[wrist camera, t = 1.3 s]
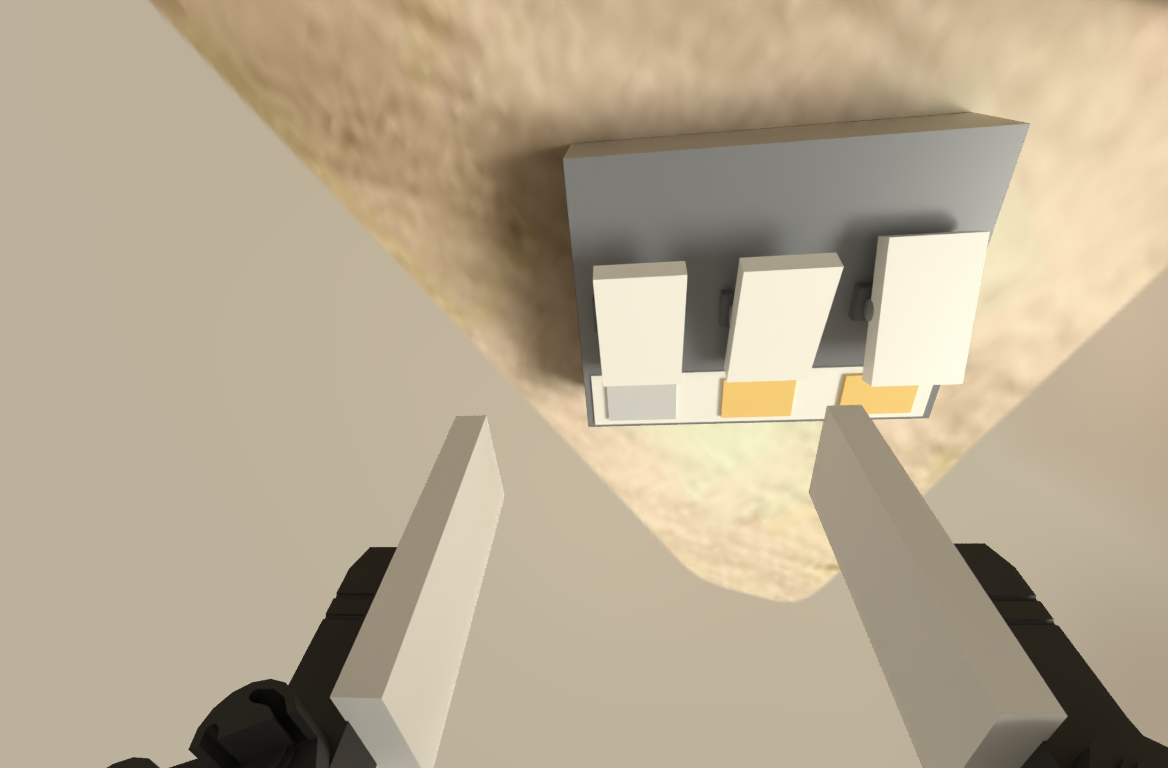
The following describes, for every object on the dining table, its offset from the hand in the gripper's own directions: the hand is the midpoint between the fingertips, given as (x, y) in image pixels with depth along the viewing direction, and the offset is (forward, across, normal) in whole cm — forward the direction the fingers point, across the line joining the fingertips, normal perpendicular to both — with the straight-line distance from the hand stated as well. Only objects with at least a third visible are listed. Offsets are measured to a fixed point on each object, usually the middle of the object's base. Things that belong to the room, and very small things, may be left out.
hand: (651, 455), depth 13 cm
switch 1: (+12, 0, -2) cm, 12 cm away
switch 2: (+12, +6, -2) cm, 14 cm away
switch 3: (+12, +12, -2) cm, 17 cm away
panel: (+17, +6, -2) cm, 18 cm away
